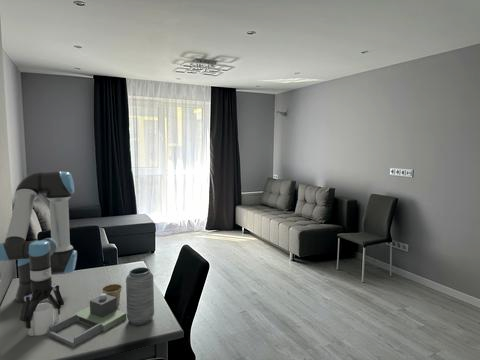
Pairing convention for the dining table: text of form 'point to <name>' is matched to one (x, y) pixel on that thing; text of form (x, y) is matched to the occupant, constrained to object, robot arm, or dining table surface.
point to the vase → (140, 296)
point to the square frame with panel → (91, 319)
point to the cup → (42, 318)
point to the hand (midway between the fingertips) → (43, 328)
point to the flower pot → (113, 291)
